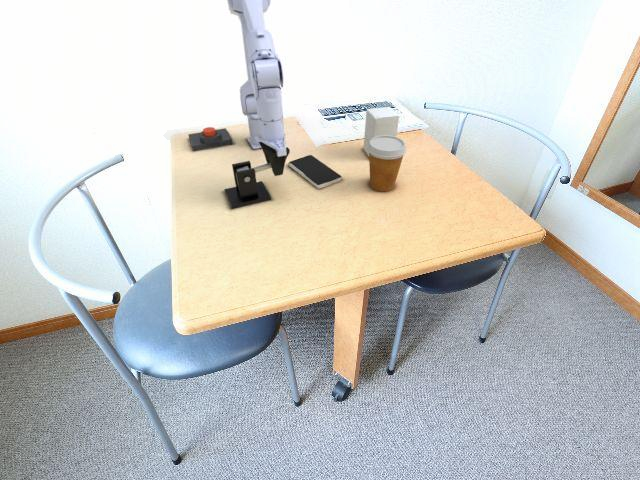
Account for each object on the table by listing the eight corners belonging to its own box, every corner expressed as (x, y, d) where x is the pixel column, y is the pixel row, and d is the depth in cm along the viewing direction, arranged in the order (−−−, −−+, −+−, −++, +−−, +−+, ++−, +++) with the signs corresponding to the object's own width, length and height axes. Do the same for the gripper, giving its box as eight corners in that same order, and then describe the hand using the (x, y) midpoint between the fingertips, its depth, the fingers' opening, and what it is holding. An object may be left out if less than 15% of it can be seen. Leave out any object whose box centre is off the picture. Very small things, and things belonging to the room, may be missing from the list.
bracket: (262, 184, 97) (258, 155, 92) (271, 199, 92) (268, 170, 86) (224, 192, 95) (218, 163, 89) (231, 209, 89) (225, 179, 84)
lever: (275, 163, 93) (273, 155, 92) (280, 171, 90) (278, 163, 88) (237, 175, 91) (235, 166, 89) (242, 184, 88) (239, 175, 86)
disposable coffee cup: (403, 179, 99) (410, 137, 91) (396, 198, 92) (403, 154, 85) (368, 173, 102) (372, 132, 94) (360, 191, 95) (363, 148, 87)
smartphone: (318, 185, 95) (287, 162, 104) (318, 189, 96) (287, 165, 105) (342, 176, 98) (311, 154, 107) (342, 180, 99) (311, 158, 108)
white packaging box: (394, 157, 108) (400, 115, 100) (370, 160, 107) (374, 118, 99) (385, 146, 114) (390, 106, 106) (362, 149, 113) (365, 108, 104)
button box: (226, 132, 122) (224, 122, 119) (233, 145, 115) (231, 134, 113) (189, 139, 118) (186, 128, 116) (194, 152, 111) (191, 141, 109)
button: (214, 131, 115) (213, 126, 114) (216, 136, 113) (215, 130, 112) (203, 133, 114) (201, 128, 113) (205, 138, 112) (203, 132, 110)
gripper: (245, 108, 87) (252, 160, 96) (262, 132, 77) (268, 187, 86) (273, 104, 89) (278, 155, 98) (294, 126, 79) (296, 181, 88)
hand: (275, 169), depth 92 cm, fingers closed on lever, 4 cm apart
